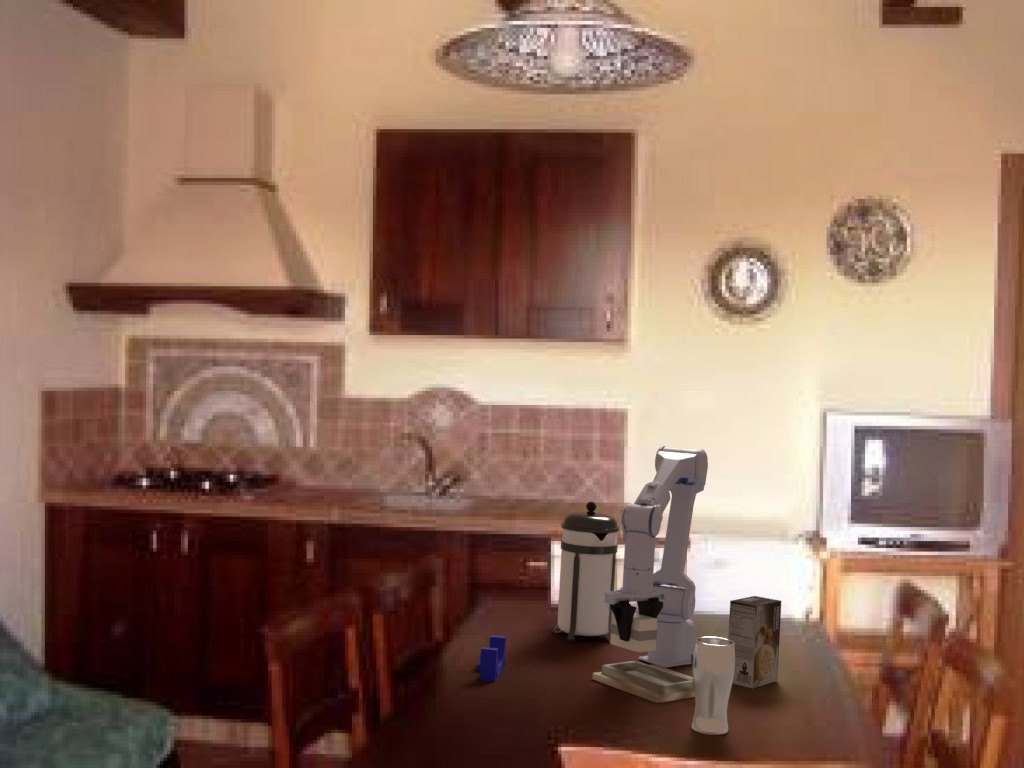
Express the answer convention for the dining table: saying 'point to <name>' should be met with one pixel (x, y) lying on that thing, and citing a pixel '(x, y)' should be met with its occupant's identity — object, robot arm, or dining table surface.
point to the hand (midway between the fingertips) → (634, 639)
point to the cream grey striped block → (637, 634)
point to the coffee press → (586, 573)
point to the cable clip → (492, 658)
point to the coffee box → (755, 640)
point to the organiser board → (647, 681)
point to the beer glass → (712, 683)
